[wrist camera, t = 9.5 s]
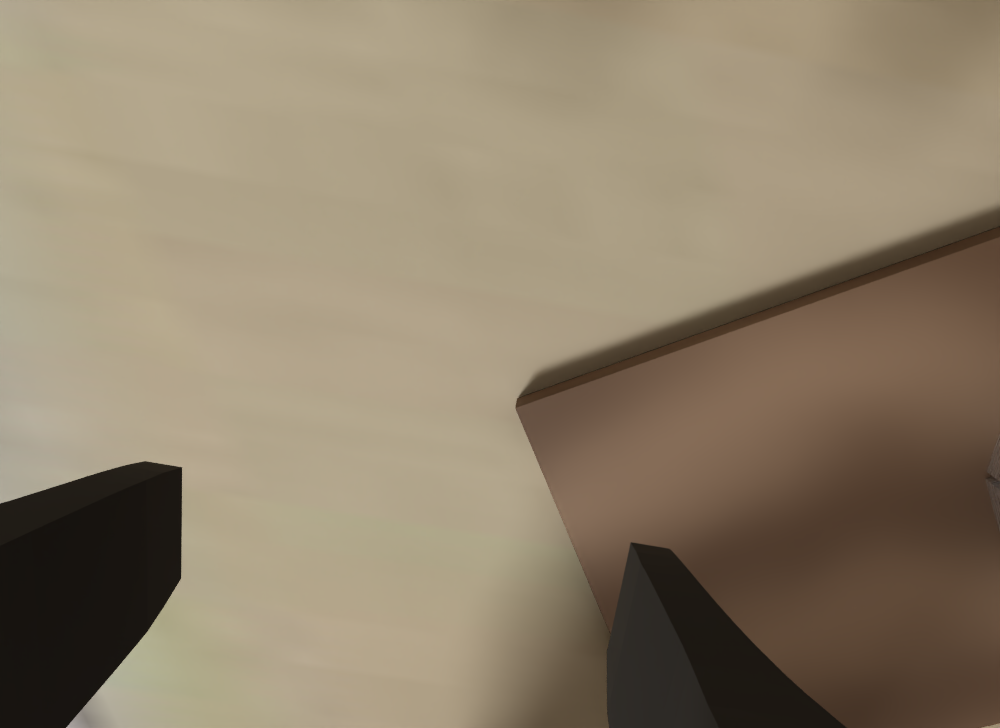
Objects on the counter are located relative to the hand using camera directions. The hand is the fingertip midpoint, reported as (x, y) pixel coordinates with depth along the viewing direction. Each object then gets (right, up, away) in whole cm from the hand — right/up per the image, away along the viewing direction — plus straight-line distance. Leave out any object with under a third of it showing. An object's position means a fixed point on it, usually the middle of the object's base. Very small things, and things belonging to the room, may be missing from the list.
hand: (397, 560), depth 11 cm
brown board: (+14, -1, +9) cm, 17 cm away
